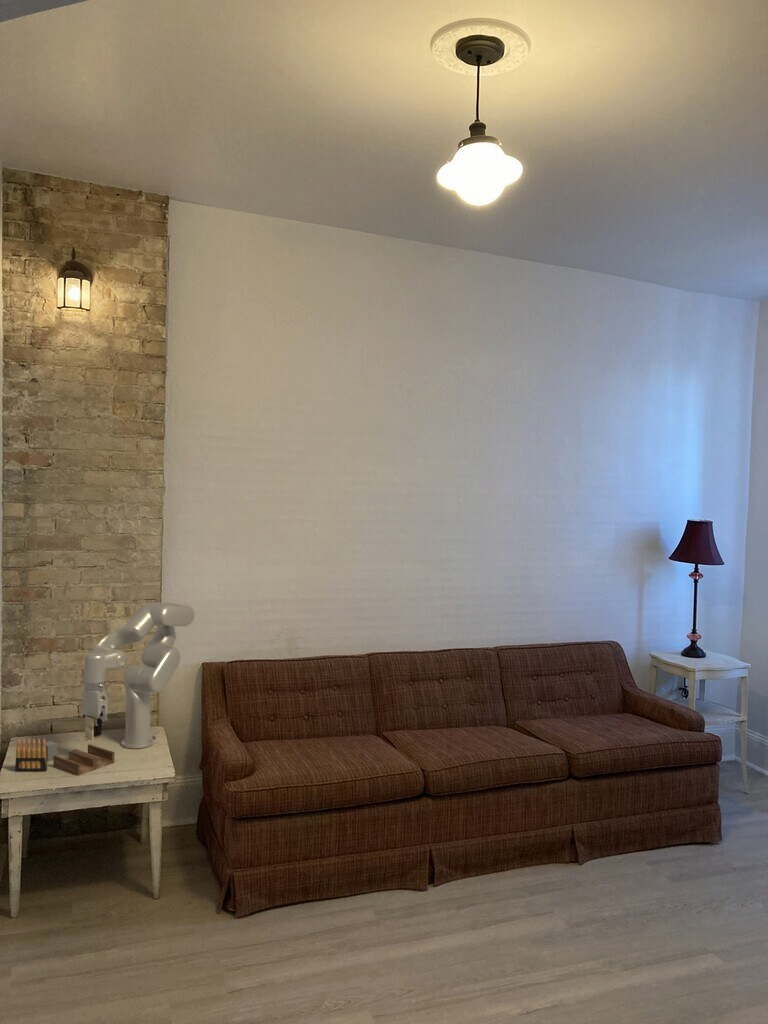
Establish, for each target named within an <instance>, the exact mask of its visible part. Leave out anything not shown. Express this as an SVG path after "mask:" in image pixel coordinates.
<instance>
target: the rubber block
mask: <svg viewBox="0 0 768 1024" xmlns="http://www.w3.org/2000/svg"><path fill="white" fill-rule="evenodd" d="M55 755H56V756H58V742H55V741H53V740H49V741H46V756H47V763H48V762H51V761H53V756H55ZM41 756H42V743H41Z"/></svg>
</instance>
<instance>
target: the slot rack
mask: <svg viewBox="0 0 768 1024" xmlns="http://www.w3.org/2000/svg"><path fill="white" fill-rule="evenodd" d="M52 761H53V764H52V765H53V768H56V769H58V770H60V771H64V772H66V773H69V774H72V775H75V776H77V777H78V776H81V775H83V774H84V775H85V774H86V773H89V772H92V771H95V770H98V769H100V768H104V767H106V766H109V765H112V764H114V763H115V751H112V750H109V749H105V748H103V747H100V746H97V745H94V744H87V752H86V751H83V750H80V749H76V748H74V749H71V750H69V751H68V759H67V758H66V757H65V758H64V757H62V756H58V755H57V756H56V755H55V756H53V760H52ZM103 766H104V767H103Z"/></svg>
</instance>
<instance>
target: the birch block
mask: <svg viewBox="0 0 768 1024" xmlns="http://www.w3.org/2000/svg"><path fill="white" fill-rule="evenodd" d="M99 720H100V719H98V721H99ZM84 724H85V729H84V738H86V739H88V740H91V741H92V740H96V739H99V738H102V734H101V735H99V736H96V737H95V736H94V726H95V719H94V717H90V716H86V721H85V722H84Z"/></svg>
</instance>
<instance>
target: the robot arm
mask: <svg viewBox="0 0 768 1024" xmlns="http://www.w3.org/2000/svg"><path fill="white" fill-rule="evenodd" d="M194 619H195V610H194V609H193V608H192V607H191V606H190V605H186V604H177V603H173V602H172V603H171V602H163V603H159V602H147V603H145V604H144V605H143V606H142V607H141V608H140V610H138V611H137V612H136V613H135V615H134V616H133V617H132V618H131V619H130V620H129V621H128V622H127V624H126V625H124V626H122V627H120V628H117V629H115V630H113V631H111V632H110V633H108V634H106V635H105V636H104V637H102V638H101V639H100V640H99V641H98V642H97V643H96V645H94V647H93V648H92V650H91V652H88V653H86V654H84V660H83V661H84V663H83V665H84V666H83V669H84V670H83V689H82V695H81V704H80V705H81V709H80V714H81V715H82V717H83V719H84V720H83V721H84V723H85V721H86V716H90V717H94V719H95V726H94V736H95V737H96V736H99V735H101V736H102V734H103V733H102V732H103V725H104V722H105V721H107V720H108V719H109V718H108V714H109V699H108V693H107V690H106V671H117V670H120V669H122V668H123V667H125V664H126V663H127V655H126V653H125V652H124V651H122V650H119V649H118V648H121V647H123V646H124V645H125V646H126V645H130V644H134V643H138V642H141V641H143V640H144V638H145V637H146V636H147V635H148V633H149V632H150V631H151V630H152V629H153V628H154V627H155V626H156V625H157V627H156V631H155V633H154V635H153V637H152V638H151V640H150V642H149V643H148V644H147V645H146V647H145V649H144V650H143V651H142V654H141V658H140V659H141V660H140V661H141V662H142V664H132V665H130V666H128V667H127V668H126V669H125V671H124V673H123V684H124V689H125V736H124V738H123V739H122V740H121V742H120V745H121V746H122V747H124V748H125V749H126V748H127V749H132V750H133V749H144V748H148V747H151V746H152V745H154V743H155V739H154V738H153V737H154V736H155V735H158V734H160V730H159V728H156V729H152V728H151V717H152V716H151V712H152V711H151V710H152V709H151V708H152V704H151V703H152V699H151V697H152V696H151V695H150V693H153V694H158V693H159V692H161V691H163V689H164V688H165V687H166V685H167V684H168V683H169V681H170V679H171V678H172V676H173V675H174V674H175V672H176V671H177V668H178V667H179V664H180V663H181V662H180V661H181V654H180V653H181V652H180V651H179V649H178V648H176V647H175V646H173V645H174V644H175V641H176V638H177V637H176V635H177V634H176V630H175V627H188V626H190V625H191V624H192V622H193V621H194ZM98 719H100V720H99V721H98Z"/></svg>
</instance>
